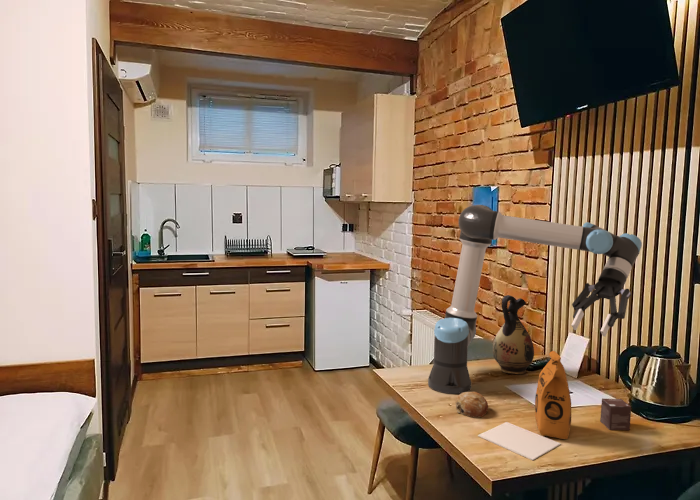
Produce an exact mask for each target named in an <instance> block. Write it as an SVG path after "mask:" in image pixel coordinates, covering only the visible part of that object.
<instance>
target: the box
mask: <svg viewBox="0 0 700 500" xmlns="http://www.w3.org/2000/svg"><path fill="white" fill-rule="evenodd" d="M600 407H601V409H600V419H599V420H600V423H601V424H602V425H604V426H605V427H606V428H607V429H608V430H610V431H630V430H631V429H630V428H631V419H632V418H631V417H632V416H631V415H632V406H631V405H630V404H629V403H628V402H626V401H625V400H624V399H622V398H601V406H600Z"/></svg>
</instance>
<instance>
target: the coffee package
mask: <svg viewBox="0 0 700 500" xmlns="http://www.w3.org/2000/svg"><path fill="white" fill-rule="evenodd" d="M549 357H550V360H549V361H548V362H547V363H546V365H545V366H544V367H543V369H541V371H540V372H539V376H538V381H537V386H536V392H535V397H534V416H535V422H536V425H537V429H538V432H539V433H540V434H539V435H541V436H543V437H545V436H546V437H550V438H556V439H560V440H568V438H569V435H570V431H571V427H572V399H571V393H570V388H569V383H568V382H569V381H568V378H567V372H566V369H565V367H564V365H563V363H562V362H561V360H562V359H561V358H562V357H561V356H560V355H559V354H558V353H557V352H556V351H555V350H552V351H550V352H549Z"/></svg>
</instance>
